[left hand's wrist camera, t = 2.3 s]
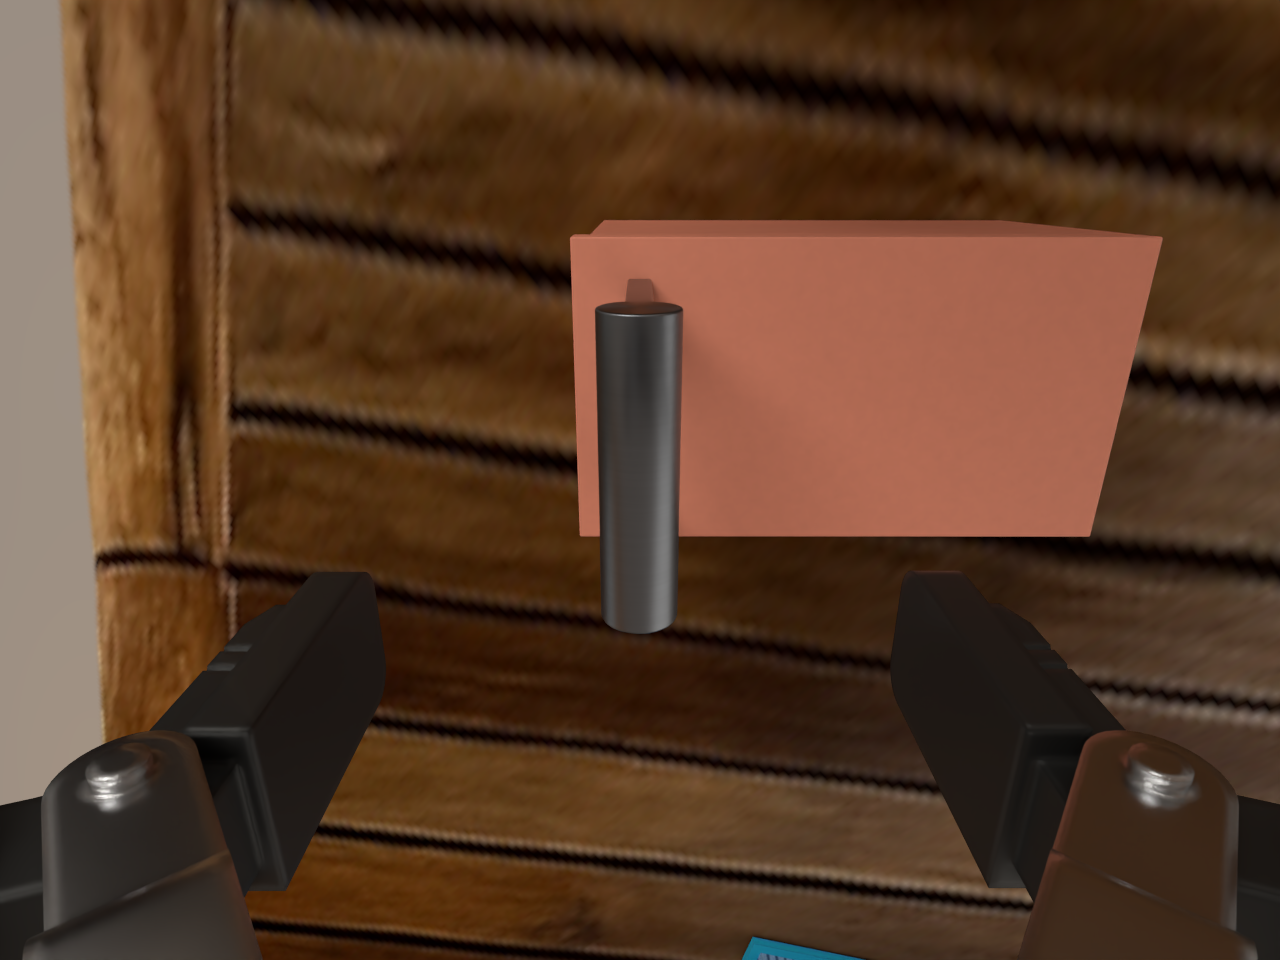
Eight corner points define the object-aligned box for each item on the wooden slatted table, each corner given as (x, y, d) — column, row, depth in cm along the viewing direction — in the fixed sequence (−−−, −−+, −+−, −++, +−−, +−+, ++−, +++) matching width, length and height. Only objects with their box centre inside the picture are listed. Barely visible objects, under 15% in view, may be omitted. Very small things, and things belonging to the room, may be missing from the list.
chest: (606, 437, 35) (595, 522, 26) (602, 220, 32) (588, 234, 23) (964, 438, 35) (1071, 522, 26) (1001, 220, 32) (1138, 234, 23)
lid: (582, 522, 26) (556, 669, 18) (573, 234, 23) (536, 262, 15) (1072, 523, 26) (1260, 671, 18) (1139, 234, 23) (1409, 262, 15)
